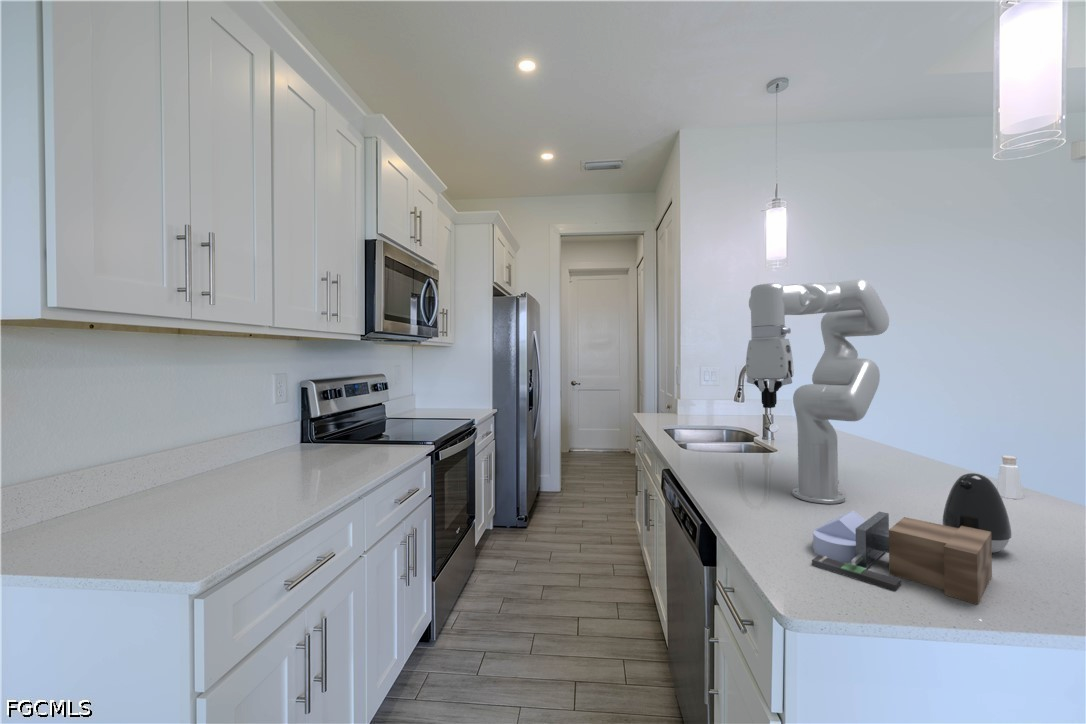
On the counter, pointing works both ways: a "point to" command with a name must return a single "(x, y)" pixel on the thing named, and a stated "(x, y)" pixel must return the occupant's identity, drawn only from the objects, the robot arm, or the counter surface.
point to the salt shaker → (1009, 479)
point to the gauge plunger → (871, 540)
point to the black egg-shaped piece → (978, 508)
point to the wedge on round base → (838, 537)
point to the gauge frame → (930, 559)
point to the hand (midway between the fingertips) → (769, 407)
